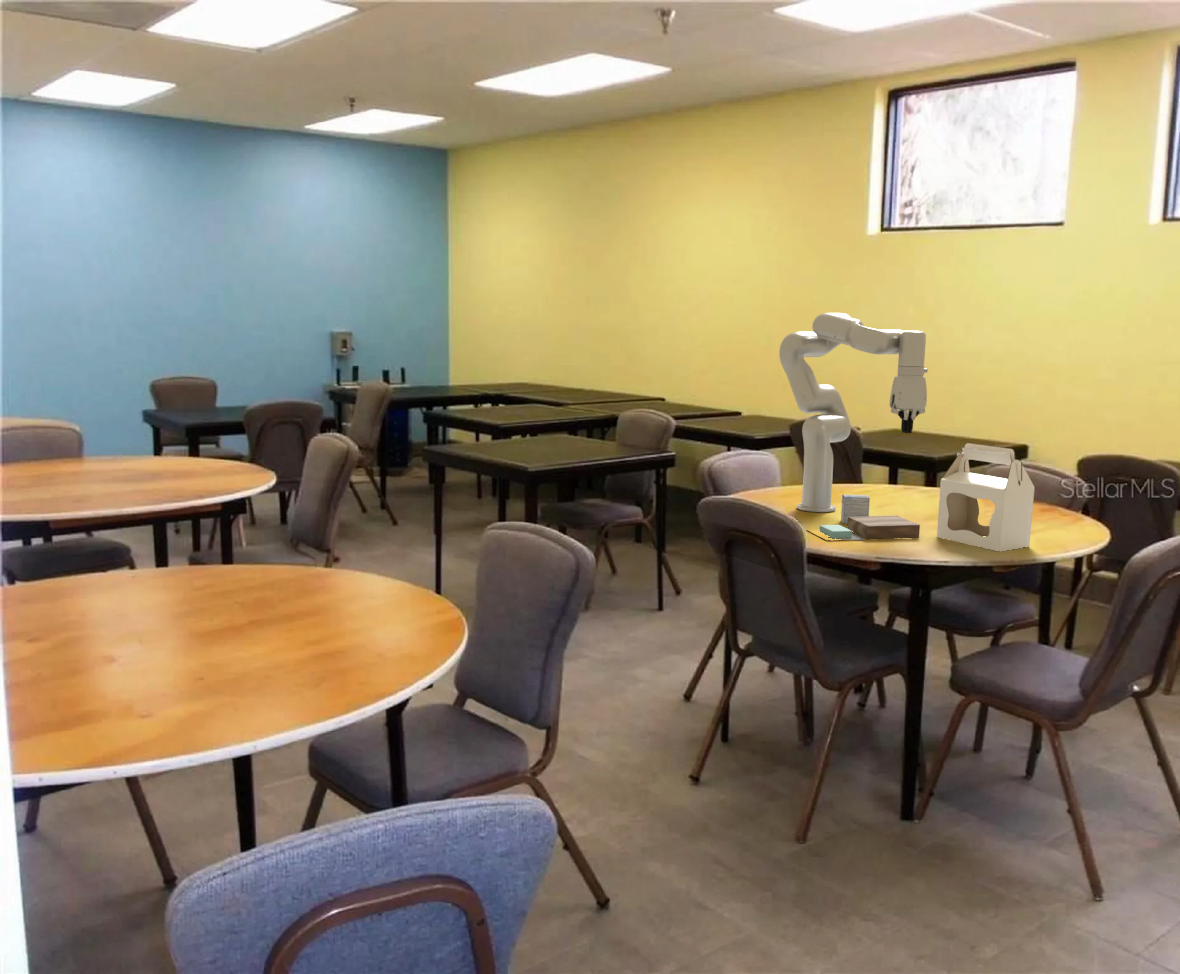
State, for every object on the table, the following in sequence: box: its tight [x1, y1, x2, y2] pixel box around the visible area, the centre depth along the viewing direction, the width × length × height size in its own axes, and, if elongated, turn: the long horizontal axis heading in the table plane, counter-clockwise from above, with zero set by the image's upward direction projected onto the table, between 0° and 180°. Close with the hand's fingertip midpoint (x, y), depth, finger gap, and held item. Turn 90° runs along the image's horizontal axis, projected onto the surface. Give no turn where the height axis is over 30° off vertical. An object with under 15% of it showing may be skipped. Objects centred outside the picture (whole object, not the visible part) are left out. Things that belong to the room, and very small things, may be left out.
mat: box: [828, 532, 867, 541], centre depth 302 cm, size 15×12×1 cm
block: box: [819, 524, 853, 538], centre depth 301 cm, size 9×6×2 cm, turn 11°
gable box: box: [936, 442, 1036, 553], centre depth 293 cm, size 22×13×28 cm, turn 32°
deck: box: [846, 515, 921, 540], centre depth 304 cm, size 14×16×4 cm
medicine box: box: [840, 493, 871, 525], centre depth 320 cm, size 8×4×9 cm, turn 84°
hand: (906, 432), depth 312 cm, fingers closed
